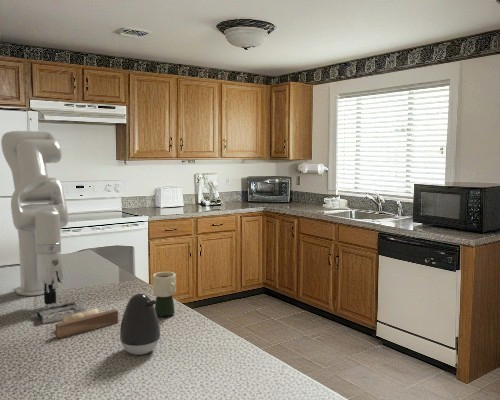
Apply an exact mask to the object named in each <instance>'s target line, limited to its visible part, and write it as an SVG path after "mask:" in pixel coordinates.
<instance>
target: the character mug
mask: <svg viewBox="0 0 500 400" xmlns="http://www.w3.org/2000/svg"><path fill="white" fill-rule="evenodd" d="M176 284H177V276H176V273H175V272H172V271H160V272H159V271H158V272H155V273H153V275H152V294H153V296H155V297H156V298H155V301H156V304H154V308H155V311H156V314H157V317H158V316H159V317H163V316H164V317H165V316H166V317H168V316H170V315H174V314H175V311H176V310H175V304H174V299H173V297H172V296H174V295H175V294H176V292H177V289H176Z"/></svg>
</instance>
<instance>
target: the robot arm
mask: <svg viewBox="0 0 500 400" xmlns="http://www.w3.org/2000/svg"><path fill="white" fill-rule="evenodd" d="M0 143H1V151H2V155H3V156H4V159H5V161H6V163H7V165H8V167H9V169H10V171H11V174H12V175H11V176H12V181H13V187H14V191H13V193H12V195H11V199H10V210H11V218H12V222H13V225H14V228H15V229H16V230H17V235H18V237H17V238H18V251H19V269H20V270H19V271H20V275H19V276H20V286H19V287H17V288H16V289H15V293H16V294H17V295H19V296H25V297H29V296H32V297H33V296H40V295H43V298H44V299H43V300H44V301H43V302H44V305H53V304H56V303H57V289H59V283H60V284H62V283H63V282H64V269H63V259H62V255H61V252H62V245H61V244H62V243H61V242H62V241H61V238H62V237H61V229H63V228H65V227H66V226H67V225H68V223H69V213H68V208H67V201H66V198H65V193H64V189H63V186H62V183H61V181H60V180H59V179H58V178H56V177H49V175H48V169H47V165H46V164H57V163H60V161H61V160H62V154H63V153H62V148H61V145H60V143H59V141H58V140H57V139H56V137H55V136H54V135H53V134H52V133H51V132H48V131H35V130H34V131H31V130H13V131H7V132H5V133H4V134H3V135H2V136H1V141H0ZM22 204H25V205H22Z"/></svg>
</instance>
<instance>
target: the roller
mask: <svg viewBox="0 0 500 400" xmlns="http://www.w3.org/2000/svg"><path fill="white" fill-rule="evenodd" d="M98 313H101V312H100V310H99V308H94V309H93V308H92V309H90V310H86V311H84V312H80V313H76V314H72V315H68V316H64V317H63V318H62V320H61V323H62V322H66V321H70V320H74V319H78V318H82V317H86V316H90V315H94V314H98Z"/></svg>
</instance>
